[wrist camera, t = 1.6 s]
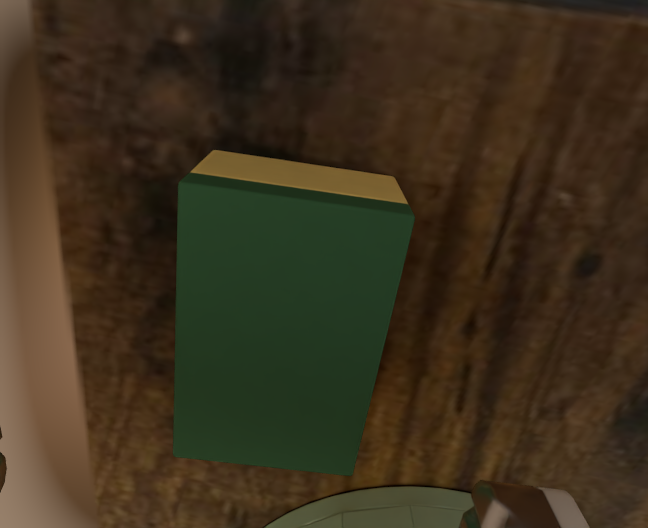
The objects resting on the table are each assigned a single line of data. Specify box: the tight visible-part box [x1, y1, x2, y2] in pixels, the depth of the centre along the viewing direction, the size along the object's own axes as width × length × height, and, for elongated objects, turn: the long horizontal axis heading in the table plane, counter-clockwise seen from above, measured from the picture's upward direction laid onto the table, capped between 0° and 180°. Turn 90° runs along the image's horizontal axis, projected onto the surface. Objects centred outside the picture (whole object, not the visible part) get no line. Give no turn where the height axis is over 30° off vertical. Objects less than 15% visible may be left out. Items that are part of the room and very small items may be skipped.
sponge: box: [173, 150, 415, 476], centre depth 12 cm, size 7×4×3 cm, turn 171°
